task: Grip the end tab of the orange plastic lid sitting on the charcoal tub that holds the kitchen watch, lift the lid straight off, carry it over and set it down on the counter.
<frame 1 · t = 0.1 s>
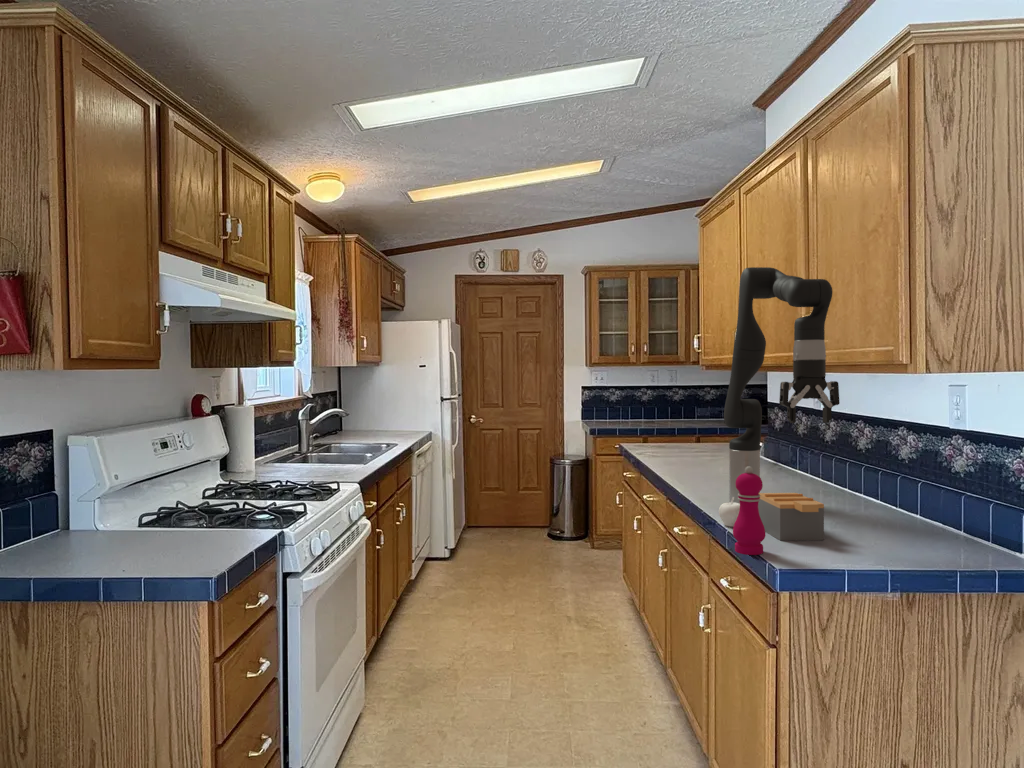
hand: (809, 422, 173), 29 cm above the table, tool pointing down, fingers open, 8 cm apart
apple: (732, 526, 187), on the table
lid: (788, 502, 178), point 8 cm above the table, touching tub
pepper mill: (748, 552, 160), on the table
watch: (788, 533, 179), resting in tub
tub: (788, 532, 179), on the table
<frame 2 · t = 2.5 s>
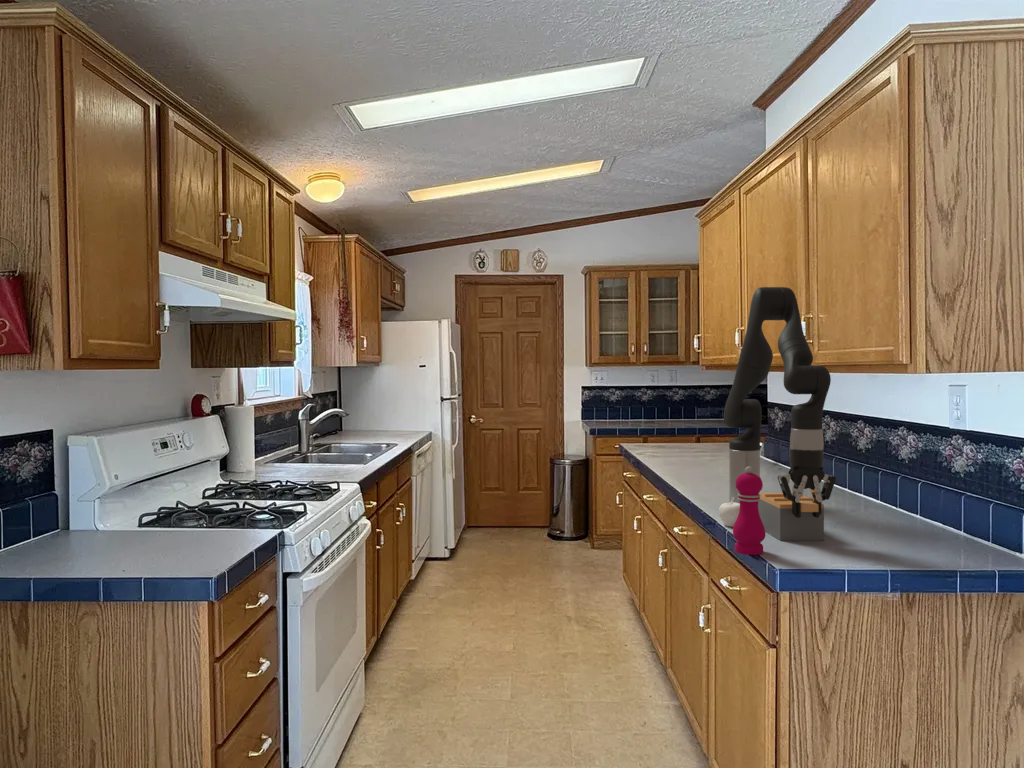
hand: (806, 516, 168), 6 cm above the table, tool pointing down, fingers closed on lid, 4 cm apart
lid: (788, 502, 178), point 8 cm above the table, touching gripper, tub
everything else where it was.
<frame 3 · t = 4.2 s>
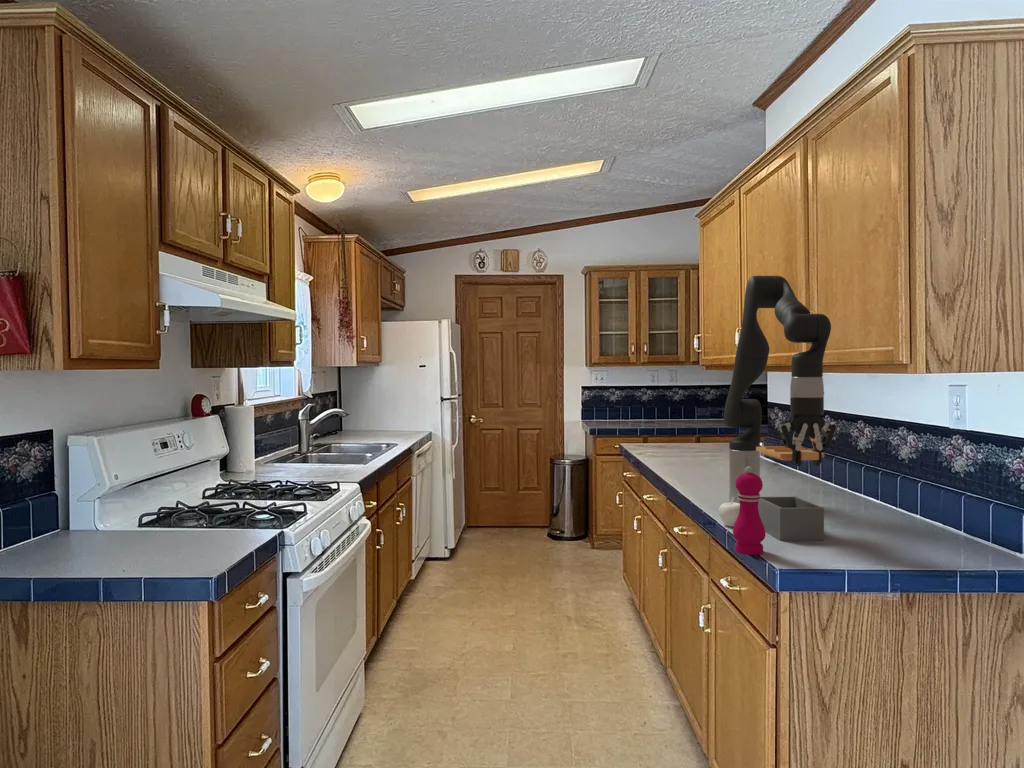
hand: (806, 465, 168), 19 cm above the table, tool pointing down, fingers closed on lid, 4 cm apart
lid: (788, 453, 178), point 21 cm above the table, touching gripper
everything else where it was.
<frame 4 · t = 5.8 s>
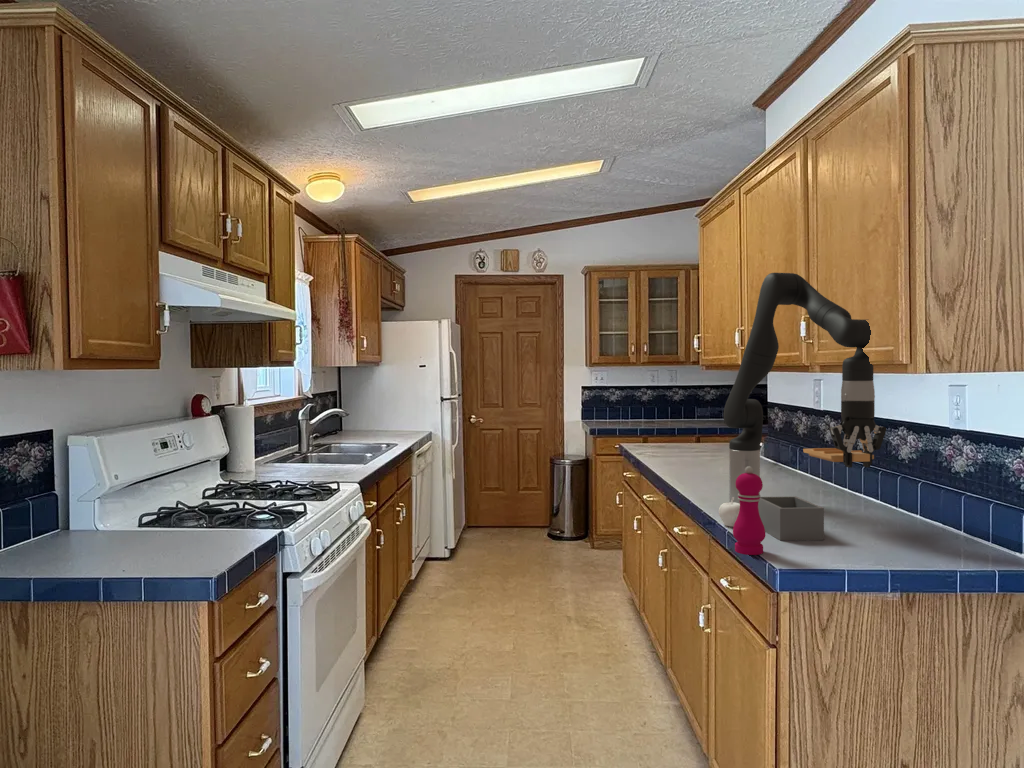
hand: (857, 466, 173), 18 cm above the table, tool pointing down, fingers closed on lid, 4 cm apart
lid: (837, 455, 183), point 20 cm above the table, touching gripper
everything else where it was.
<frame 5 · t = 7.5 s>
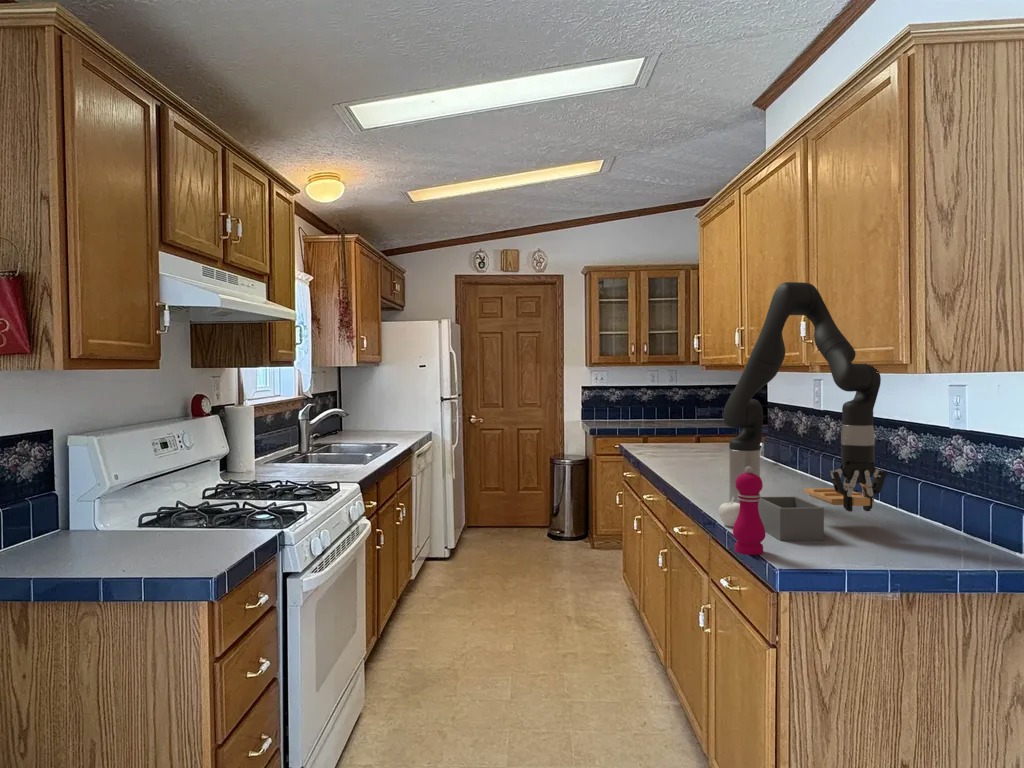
hand: (857, 510, 173), 7 cm above the table, tool pointing down, fingers closed on lid, 4 cm apart
lid: (837, 496, 183), point 8 cm above the table, touching gripper
everything else where it was.
when the fingers open (1 cm above the table, at t = 9.1 s): lid drops 2 cm, on the table.
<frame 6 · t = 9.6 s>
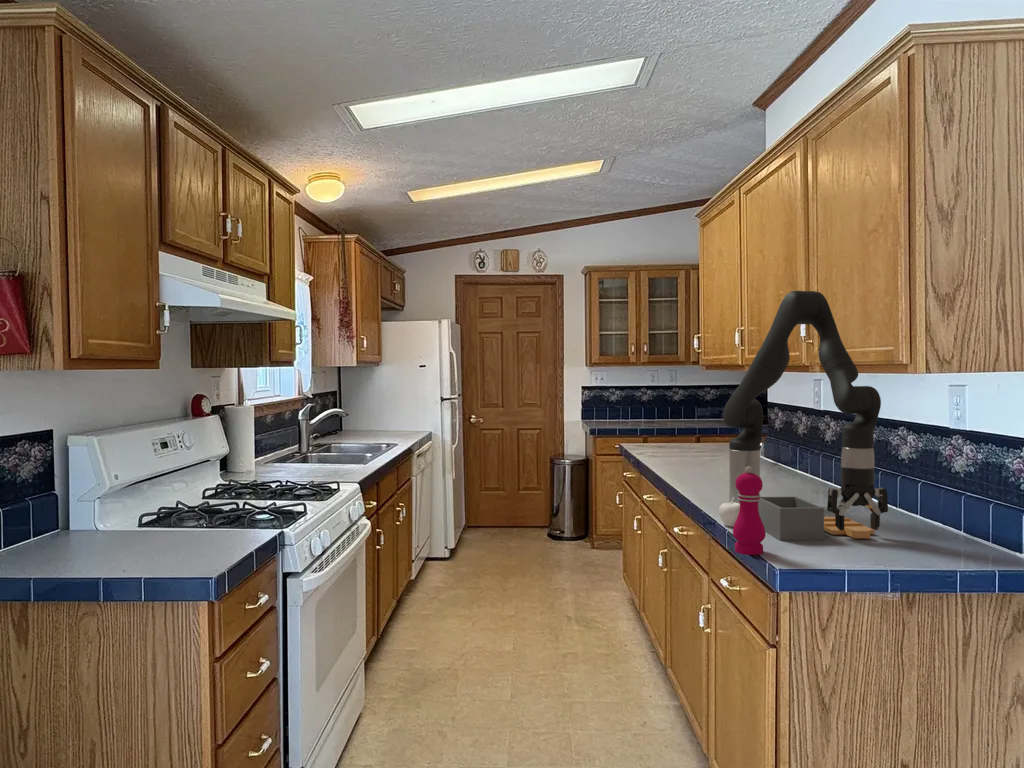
hand: (857, 529, 173), 2 cm above the table, tool pointing down, fingers open, 8 cm apart
lid: (837, 526, 183), on the table
everything else where it was.
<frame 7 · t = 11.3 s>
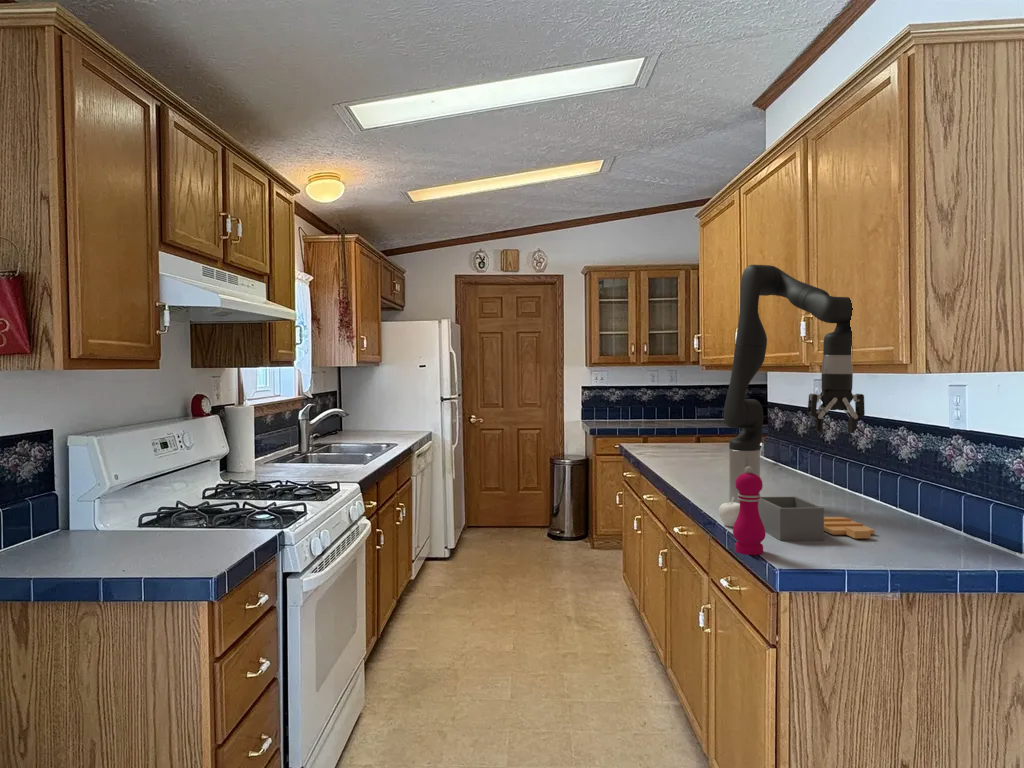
hand: (835, 432, 183), 26 cm above the table, tool pointing down, fingers open, 8 cm apart
nothing on the table moved.
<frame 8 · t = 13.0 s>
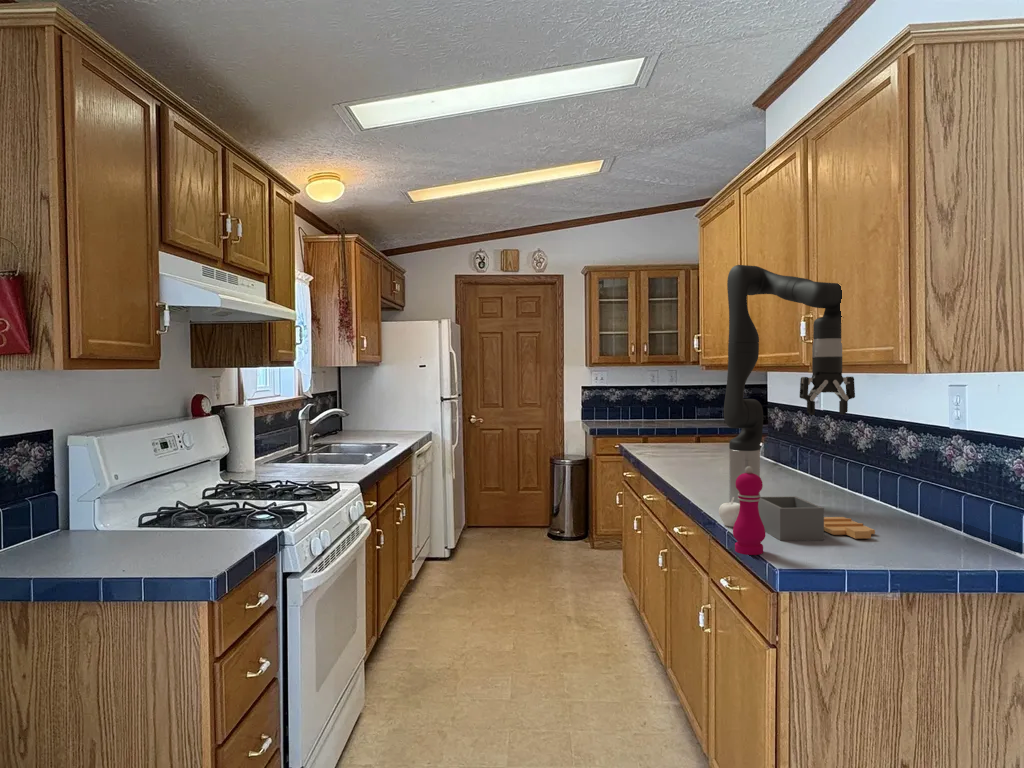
hand: (827, 414, 188), 30 cm above the table, tool pointing down, fingers open, 8 cm apart
nothing on the table moved.
at the end: lid inside the target area (1.0 cm from its centre), on the table; lid touching table; the gripper is holding nothing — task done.
